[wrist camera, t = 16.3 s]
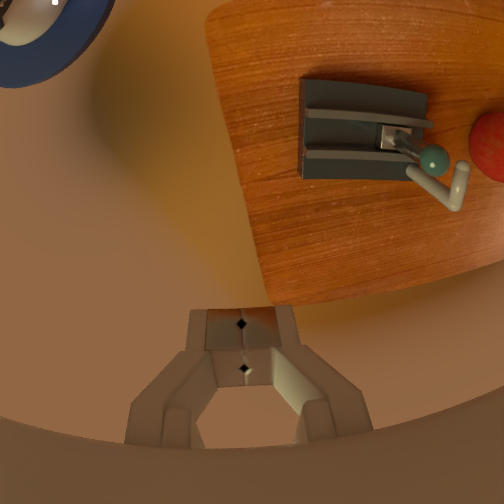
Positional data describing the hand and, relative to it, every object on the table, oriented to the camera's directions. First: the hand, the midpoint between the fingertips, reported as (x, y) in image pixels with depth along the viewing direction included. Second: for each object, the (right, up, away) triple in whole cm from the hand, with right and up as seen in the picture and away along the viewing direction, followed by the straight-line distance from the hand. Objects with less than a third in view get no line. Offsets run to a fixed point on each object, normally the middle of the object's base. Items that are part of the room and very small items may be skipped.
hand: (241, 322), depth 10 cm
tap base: (+14, +18, +27) cm, 35 cm away
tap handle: (+17, +16, +24) cm, 34 cm away
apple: (+37, +20, +27) cm, 50 cm away
